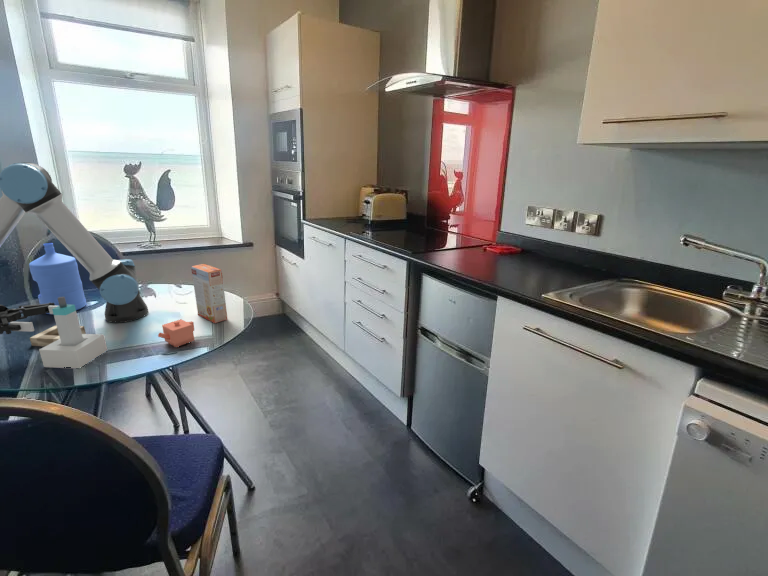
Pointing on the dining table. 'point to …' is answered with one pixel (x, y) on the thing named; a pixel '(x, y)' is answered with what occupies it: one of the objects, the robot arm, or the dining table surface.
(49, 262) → the water jug
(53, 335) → the beige flat square frame
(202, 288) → the cracker box
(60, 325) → the plug
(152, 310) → the dining table surface
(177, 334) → the pink cube teapot
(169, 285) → the dining table surface
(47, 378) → the dining table surface
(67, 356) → the socket block
